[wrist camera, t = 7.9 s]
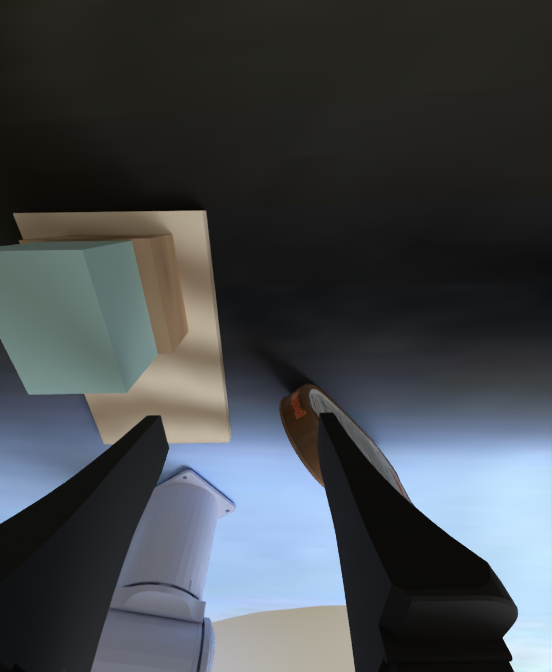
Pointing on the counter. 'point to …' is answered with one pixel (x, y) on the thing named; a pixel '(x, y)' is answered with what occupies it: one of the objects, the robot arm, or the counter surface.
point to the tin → (303, 432)
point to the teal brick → (74, 316)
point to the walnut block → (151, 283)
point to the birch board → (192, 353)
